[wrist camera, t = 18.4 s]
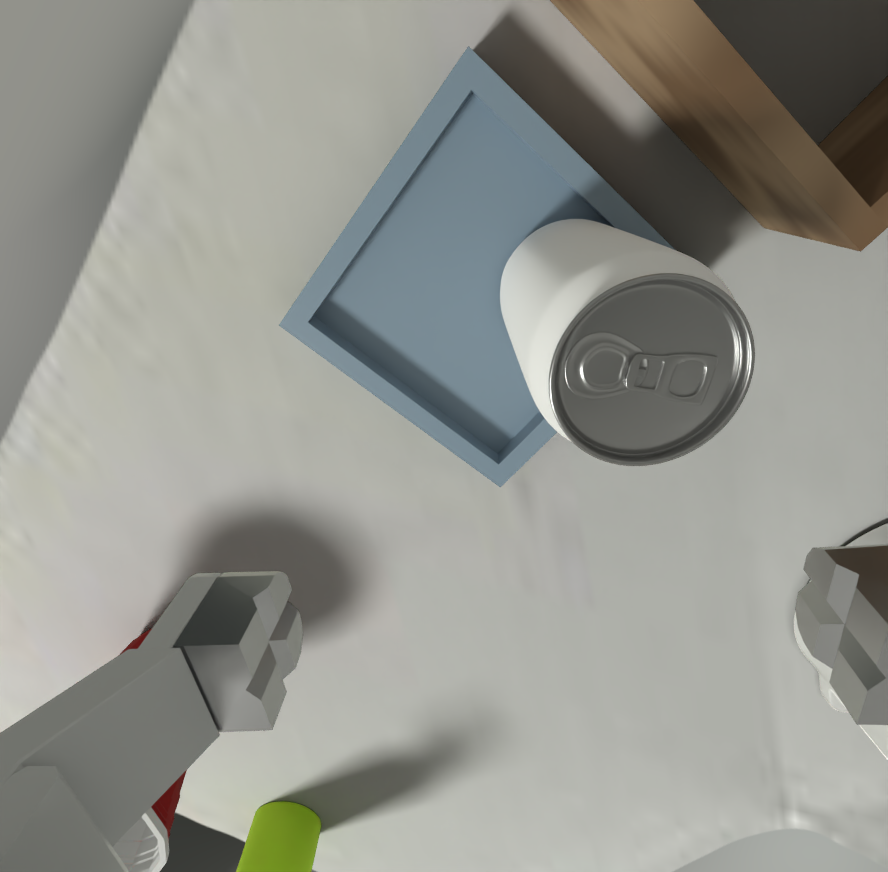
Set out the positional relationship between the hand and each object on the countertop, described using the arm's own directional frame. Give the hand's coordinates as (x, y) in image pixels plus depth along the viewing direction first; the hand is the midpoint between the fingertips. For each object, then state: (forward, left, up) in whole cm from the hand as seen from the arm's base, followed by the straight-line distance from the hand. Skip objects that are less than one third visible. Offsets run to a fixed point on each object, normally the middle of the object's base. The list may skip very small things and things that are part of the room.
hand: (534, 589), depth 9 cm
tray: (0, 0, -21) cm, 21 cm away
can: (-3, -1, -20) cm, 20 cm away
